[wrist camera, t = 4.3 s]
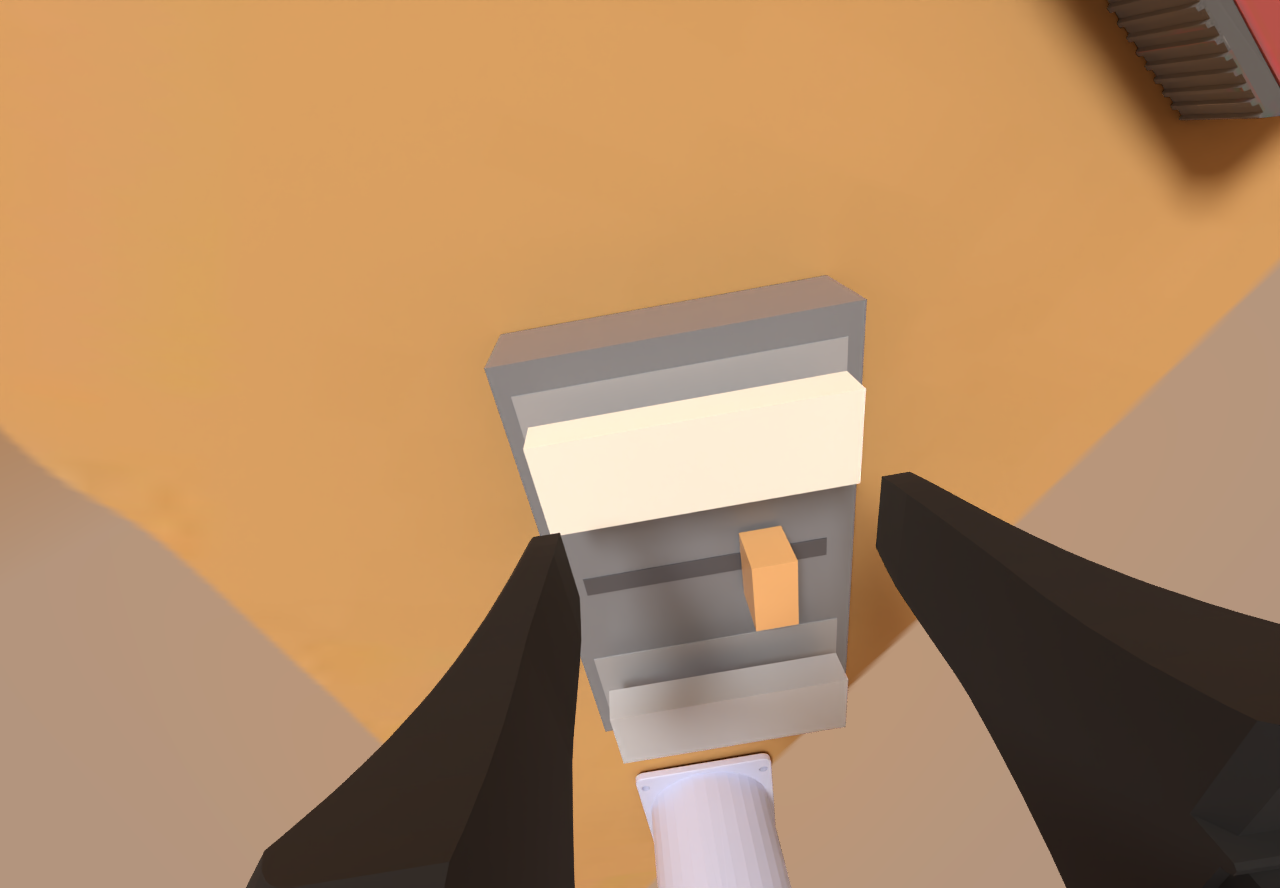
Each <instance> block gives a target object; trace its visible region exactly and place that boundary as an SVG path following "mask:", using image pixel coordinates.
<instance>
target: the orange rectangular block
mask: <svg viewBox="0 0 1280 888" xmlns="http://www.w3.org/2000/svg"><path fill="white" fill-rule="evenodd" d="M739 542H740V553H741V565H742V576H743V588H744V595H745V598H746V601H747V604H748V607H749V610H750V613H751V617H752V620H753V623H754V626H755V629H756V631H762V630H768V629H774V628H780V627H785V626H791V625H797V624H799V607H798V560H797V558H796V556H795V554H794V552H793V550H792V548H791V546H790V543H789V541H788V539H787V537H786V535H785V533H784V531H783V529H782V527H781V526H776V527H770V528H764V529H758V530H753V531H747V532H741V533H739Z"/></svg>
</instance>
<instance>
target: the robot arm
mask: <svg viewBox="0 0 1280 888" xmlns="http://www.w3.org/2000/svg"><path fill="white" fill-rule="evenodd" d="M876 548H877V550H878V552H879V554H880V557H881V559H882V561H883V563H884V565H885V567H886V569H887V571H888V573H889V575H890V577H891V579H892V580H893V582H894V584H895V586H896V588H897V589H898V591H899V592H900V594H901V595H902V597H903V598H904V600H905V601H906V603H907V604H908V606H909V607H910V609H911V610H912V612H913V613H914V615H915V616H916V618H917V619H918V621H919V622H920V624H921V625H922V626H923V628H924V629H925V631H926V632H927V634H928V635H929V637H930V638H931V640H932V641H933V642H934V644H935V645H936V647H937V648H938V650H939V651H940V653H941V654H942V656H943V657H944V659H945V660H946V661H947V663H948V664H949V666H950V667H951V669H952V670H953V672H954V673H955V674H956V676H957V678H958V679H959V681H960V682H961V684H962V686H963V687H964V689H965V690H966V692H967V694H968V695H969V697H970V698H971V700H972V702H973V704H974V706H975V708H976V709H977V711H978V713H979V715H980V717H981V718H982V720H983V722H984V724H985V726H986V728H987V729H988V731H989V733H990V734H991V737H992V738H993V740H994V742H995V744H996V746H997V748H998V750H999V752H1000V753H1001V755H1002V757H1003V759H1004V761H1005V763H1006V765H1007V767H1008V769H1009V770H1010V773H1011V775H1012V776H1013V778H1014V780H1015V782H1016V784H1017V786H1018V788H1019V790H1020V792H1021V794H1022V796H1023V798H1024V800H1025V802H1026V804H1027V806H1028V808H1029V810H1030V812H1031V814H1032V816H1033V818H1034V820H1035V822H1036V824H1037V826H1038V828H1039V830H1040V833H1041V835H1042V837H1043V839H1044V841H1045V843H1046V845H1047V847H1048V849H1049V851H1050V853H1051V855H1052V857H1053V860H1054V862H1055V864H1056V866H1057V868H1058V871H1059V873H1060V875H1061V877H1062V879H1063V881H1064V884H1065V886H1066V888H1280V624H1278V623H1274V622H1270V621H1267V620H1263V619H1260V618H1256V617H1252V616H1248V615H1245V614H1242V613H1238V612H1235V611H1232V610H1229V609H1225V608H1222V607H1219V606H1215V605H1212V604H1209V603H1206V602H1202V601H1200V600H1196V599H1193V598H1191V597H1188V596H1185V595H1181V594H1178V593H1176V592H1173V591H1169V590H1167V589H1164V588H1161V587H1158V586H1155V585H1151V584H1149V583H1146V582H1144V581H1141V580H1138V579H1135V578H1132V577H1130V576H1127V575H1125V574H1122V573H1120V572H1117V571H1115V570H1112V569H1109V568H1107V567H1104V566H1102V565H1099V564H1096V563H1094V562H1092V561H1089V560H1086V559H1084V558H1082V557H1080V556H1077V555H1075V554H1073V553H1070V552H1068V551H1065V550H1063V549H1061V548H1059V547H1057V546H1055V545H1053V544H1050V543H1048V542H1046V541H1044V540H1042V539H1040V538H1037V537H1035V536H1033V535H1031V534H1029V533H1027V532H1025V531H1023V530H1021V529H1019V528H1016V527H1015V526H1013V525H1011V524H1009V523H1007V522H1005V521H1003V520H1001V519H999V518H997V517H995V516H993V515H991V514H989V513H987V512H985V511H983V510H981V509H980V508H978V507H976V506H974V505H972V504H970V503H968V502H966V501H965V500H963V499H961V498H959V497H957V496H955V495H953V494H952V493H950V492H948V491H946V490H944V489H942V488H940V487H939V486H937V485H935V484H933V483H931V482H929V481H927V480H925V479H923V478H921V477H919V476H917V475H915V474H913V473H911V472H906V473H900V474H894V475H888V476H883V477H882V482H881V493H880V505H879V516H878V528H877V539H876ZM580 653H581V611H580V596H579V593H578V590H577V587H576V583H575V580H574V577H573V574H572V570H571V567H570V564H569V561H568V557H567V554H566V551H565V547H564V544H563V541H562V538H561V534H560V533H555V534H549V535H543V536H537V537H533V538H532V539H531V541H530V542H529V544H528V546H527V548H526V549H525V551H524V553H523V555H522V557H521V559H520V560H519V562H518V564H517V566H516V568H515V569H514V571H513V573H512V575H511V576H510V578H509V580H508V582H507V583H506V585H505V587H504V588H503V590H502V592H501V593H500V595H499V597H498V598H497V600H496V602H495V603H494V605H493V607H492V608H491V610H490V611H489V613H488V615H487V616H486V618H485V619H484V621H483V622H482V624H481V625H480V627H479V628H478V630H477V631H476V632H475V634H474V635H473V637H472V638H471V640H470V641H469V643H468V644H467V646H466V647H465V649H464V650H463V651H462V653H461V654H460V655H459V657H458V658H457V659H456V661H455V662H454V663H453V665H452V666H451V667H450V669H449V670H448V671H447V673H446V674H445V675H444V676H443V678H442V679H441V680H440V681H439V683H438V684H437V685H436V686H435V688H434V689H433V690H432V691H431V692H430V694H429V695H428V696H427V697H426V698H425V699H424V700H423V702H422V703H421V704H420V705H419V706H418V707H417V708H416V709H415V711H414V712H413V713H412V714H411V715H410V716H409V717H408V718H407V719H406V720H405V722H404V723H403V724H402V725H401V726H400V727H399V728H398V729H397V730H396V731H395V732H394V734H393V735H392V736H391V737H390V738H389V739H388V740H387V741H386V742H385V743H384V744H383V745H382V746H381V747H380V748H379V749H378V750H377V751H376V752H375V753H374V754H373V755H372V756H371V757H370V758H369V759H368V760H367V761H366V762H365V763H364V764H363V765H362V766H361V767H360V768H358V769H357V770H356V771H355V772H354V773H353V774H352V775H351V776H350V777H349V778H348V779H347V780H346V781H345V782H344V783H343V784H342V785H340V786H339V787H338V788H337V789H336V790H335V791H334V792H333V793H332V794H330V795H329V796H328V797H327V798H326V799H325V800H324V801H323V802H321V803H320V804H319V805H318V806H317V807H316V808H314V809H313V810H312V811H311V812H310V813H309V814H307V815H306V816H305V817H304V818H303V819H302V820H300V821H299V822H298V823H297V824H296V825H295V826H293V827H292V828H291V829H290V830H289V831H288V832H286V833H285V834H284V835H283V836H282V837H281V838H280V839H278V840H277V841H276V842H275V843H273V844H272V845H271V846H270V847H268V849H266V850H265V851H264V853H263V855H262V857H261V859H260V861H259V863H258V865H257V867H256V869H255V871H254V873H253V875H252V877H251V879H250V881H249V883H248V885H247V887H246V888H575V883H574V847H573V785H572V758H573V737H574V725H575V714H576V702H577V690H578V678H579V666H580ZM636 786H637V789H638V792H639V795H640V799H641V802H642V805H643V808H644V811H645V815H646V818H647V821H648V824H649V828H650V831H651V834H652V837H653V840H654V848H655V860H656V872H657V884H658V888H791V885H790V881H789V877H788V873H787V870H786V866H785V862H784V858H783V854H782V850H781V847H780V843H779V839H778V835H777V831H776V828H775V815H774V814H775V813H774V798H773V782H772V767H771V760H770V756H769V755H768V754H765V753H760V754H753V755H747V756H741V757H735V758H729V759H723V760H717V761H711V762H705V763H699V764H693V765H687V766H681V767H675V768H669V769H663V770H657V771H651V772H645V773H640V774H639V775H637V777H636Z"/></svg>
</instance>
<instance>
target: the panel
mask: <svg viewBox="0 0 1280 888" xmlns="http://www.w3.org/2000/svg"><path fill="white" fill-rule="evenodd" d="M866 303H867V299H865V298H863V297H862V296H860V295H859V294H857V293H855V292H854V291H852V290H850V289H849V288H847V287H845V286H844V285H842V284H840V283H839V282H837V281H835V280H834V279H832V278H831V277H829V276H827V275H825V276H820V277H814V278H809V279H803V280H798V281H792V282H787V283H781V284H776V285H770V286H765V287H759V288H754V289H748V290H743V291H737V292H732V293H726V294H721V295H715V296H710V297H704V298H699V299H693V300H688V301H682V302H677V303H671V304H666V305H660V306H655V307H649V308H644V309H638V310H633V311H627V312H622V313H616V314H611V315H605V316H600V317H594V318H589V319H584V320H578V321H573V322H567V323H562V324H556V325H551V326H545V327H540V328H534V329H529V330H523V331H518V332H512V333H507V334H501V335H500V337H499V339H498V341H497V343H496V345H495V347H494V349H493V351H492V354H491V356H490V358H489V360H488V362H487V364H486V366H485V368H484V369H485V372H486V375H487V378H488V381H489V384H490V387H491V390H492V393H493V396H494V399H495V402H496V405H497V408H498V411H499V414H500V417H501V420H502V423H503V426H504V429H505V432H506V435H507V438H508V441H509V444H510V447H511V450H512V453H513V456H514V459H515V462H516V465H517V468H518V471H519V474H520V477H521V480H522V483H523V486H524V489H525V492H526V495H527V498H528V501H529V504H530V507H531V510H532V513H533V516H534V519H535V522H536V525H537V528H538V531H539V534H540V536H543V535H549V534H550V532H549V529H548V526H547V522H546V519H545V516H544V513H543V510H542V507H541V504H540V501H539V498H538V494H537V491H536V488H535V485H534V482H533V479H532V476H531V473H530V470H529V466H528V463H527V460H526V457H525V454H524V451H523V448H524V443H525V439H526V435H527V430H528V428H529V427H535V426H541V425H546V424H552V423H557V422H563V421H569V420H574V419H580V418H586V417H591V416H597V415H602V414H608V413H614V412H619V411H625V410H630V409H636V408H642V407H647V406H653V405H658V404H664V403H670V402H675V401H681V400H686V399H692V398H698V397H703V396H709V395H714V394H720V393H726V392H731V391H737V390H742V389H748V388H754V387H759V386H765V385H770V384H776V383H782V382H787V381H793V380H798V379H804V378H810V377H815V376H821V375H826V374H832V373H838V372H843V371H848V372H849V373H850V374H851V375H852V376H853V377H854V378H855V379H856V380H857V381H858V382H859V383H860V384H861V385H862V375H863V357H864V339H865V321H866ZM855 500H856V484H853V485H847V486H841V487H835V488H830V489H824V490H818V491H812V492H807V493H801V494H795V495H790V496H784V497H778V498H772V499H767V500H761V501H755V502H749V503H744V504H738V505H732V506H726V507H721V508H715V509H709V510H704V511H698V512H692V513H686V514H681V515H675V516H669V517H663V518H658V519H652V520H646V521H640V522H635V523H629V524H623V525H618V526H612V527H606V528H600V529H595V530H589V531H583V532H577V533H572V534H566V535H561V538H562V541H563V544H564V547H565V551H566V554H567V557H568V561H569V564H570V567H571V570H572V574H573V577H574V580H575V583H576V587H577V590H578V593H579V596H580V611H581V653H580V656H581V659H582V662H583V665H584V668H585V671H586V674H587V677H588V680H589V683H590V686H591V689H592V692H593V695H594V698H595V701H596V704H597V707H598V710H599V713H600V716H601V719H602V722H603V725H604V728H605V731H612V730H613V728H612V725H611V722H610V706H609V691H612V690H618V689H624V688H630V687H636V686H642V685H647V684H653V683H659V682H665V681H671V680H677V679H683V678H689V677H695V676H701V675H707V674H713V673H719V672H725V671H730V670H736V669H742V668H748V667H754V666H760V665H766V664H772V663H778V662H784V661H790V660H796V659H802V658H808V657H813V656H819V655H825V654H831V653H836V654H837V656H838V659H839V661H840V663H841V665H842V667H843V669H844V672H845V674H846V661H847V643H848V625H849V607H850V589H851V571H852V554H853V536H854V518H855ZM776 526H781V527H782V529H783V531H784V533H785V535H786V537H787V539H788V541H789V543H790V546H791V548H792V550H793V552H794V554H795V556H796V558H797V560H798V607H799V624H797V625H791V626H785V627H780V628H774V629H768V630H762V631H756V629H755V626H754V623H753V620H752V617H751V613H750V610H749V607H748V604H747V601H746V598H745V595H744V588H743V576H742V565H741V553H740V542H739V533H741V532H747V531H753V530H758V529H764V528H770V527H776Z"/></svg>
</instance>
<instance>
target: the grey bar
mask: <svg viewBox="0 0 1280 888" xmlns="http://www.w3.org/2000/svg"><path fill="white" fill-rule="evenodd" d="M847 694H848V678H847V676H846V674H845V672H844V669H843V667H842V665H841V663H840V661H839V659H838V656H837V654H836V653H831V654H825V655H819V656H813V657H808V658H802V659H796V660H790V661H784V662H778V663H772V664H766V665H760V666H754V667H748V668H742V669H736V670H730V671H725V672H719V673H713V674H707V675H701V676H695V677H689V678H683V679H677V680H671V681H665V682H659V683H653V684H647V685H642V686H636V687H630V688H624V689H618V690H612V691H609V706H610V722H611V725H612V728H613V731H614V734H615V737H616V741H617V744H618V747H619V750H620V753H621V756H622V759H623V762H624V763H630V762H636V761H642V760H648V759H654V758H660V757H666V756H672V755H678V754H684V753H690V752H696V751H702V750H708V749H714V748H720V747H727V746H733V745H739V744H745V743H751V742H757V741H763V740H769V739H775V738H781V737H787V736H793V735H799V734H805V733H811V732H816V731H822V730H829V729H835V728H841V727H845V725H846V710H847Z"/></svg>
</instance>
